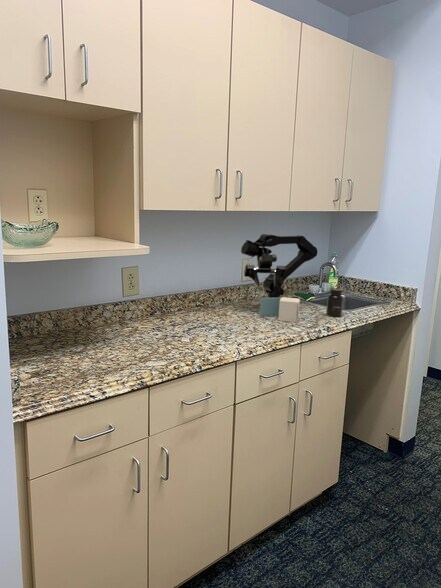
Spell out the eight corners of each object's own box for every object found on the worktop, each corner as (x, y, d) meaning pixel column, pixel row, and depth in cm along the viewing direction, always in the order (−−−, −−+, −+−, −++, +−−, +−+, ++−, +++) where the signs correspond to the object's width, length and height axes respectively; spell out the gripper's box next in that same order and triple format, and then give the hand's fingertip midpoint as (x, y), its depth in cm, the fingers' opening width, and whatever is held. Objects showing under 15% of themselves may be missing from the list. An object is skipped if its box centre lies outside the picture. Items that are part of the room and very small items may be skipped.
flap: (278, 314, 203) (279, 297, 202) (280, 315, 202) (281, 297, 200) (259, 315, 200) (260, 297, 199) (260, 316, 199) (261, 298, 197)
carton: (280, 316, 202) (281, 297, 200) (298, 317, 200) (299, 298, 198) (278, 320, 193) (279, 300, 192) (297, 322, 191) (298, 302, 190)
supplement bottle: (335, 317, 203) (337, 291, 201) (323, 314, 208) (325, 289, 206) (344, 316, 207) (347, 290, 205) (332, 313, 212) (334, 287, 210)
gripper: (246, 247, 205) (249, 274, 196) (286, 248, 207) (291, 275, 199) (242, 262, 214) (245, 289, 205) (281, 263, 216) (285, 290, 208)
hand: (267, 286), depth 204 cm, fingers open, 7 cm apart
